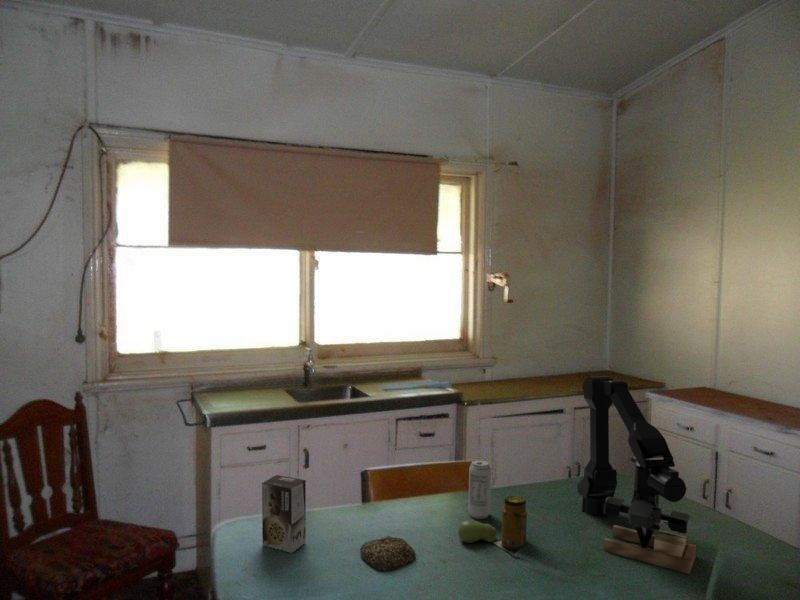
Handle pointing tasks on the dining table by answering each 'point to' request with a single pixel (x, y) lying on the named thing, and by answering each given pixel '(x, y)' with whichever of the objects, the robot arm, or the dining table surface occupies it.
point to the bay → (648, 551)
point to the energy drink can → (479, 489)
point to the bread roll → (387, 553)
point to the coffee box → (284, 513)
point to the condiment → (513, 524)
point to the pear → (476, 531)
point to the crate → (670, 543)
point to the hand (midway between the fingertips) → (644, 548)
